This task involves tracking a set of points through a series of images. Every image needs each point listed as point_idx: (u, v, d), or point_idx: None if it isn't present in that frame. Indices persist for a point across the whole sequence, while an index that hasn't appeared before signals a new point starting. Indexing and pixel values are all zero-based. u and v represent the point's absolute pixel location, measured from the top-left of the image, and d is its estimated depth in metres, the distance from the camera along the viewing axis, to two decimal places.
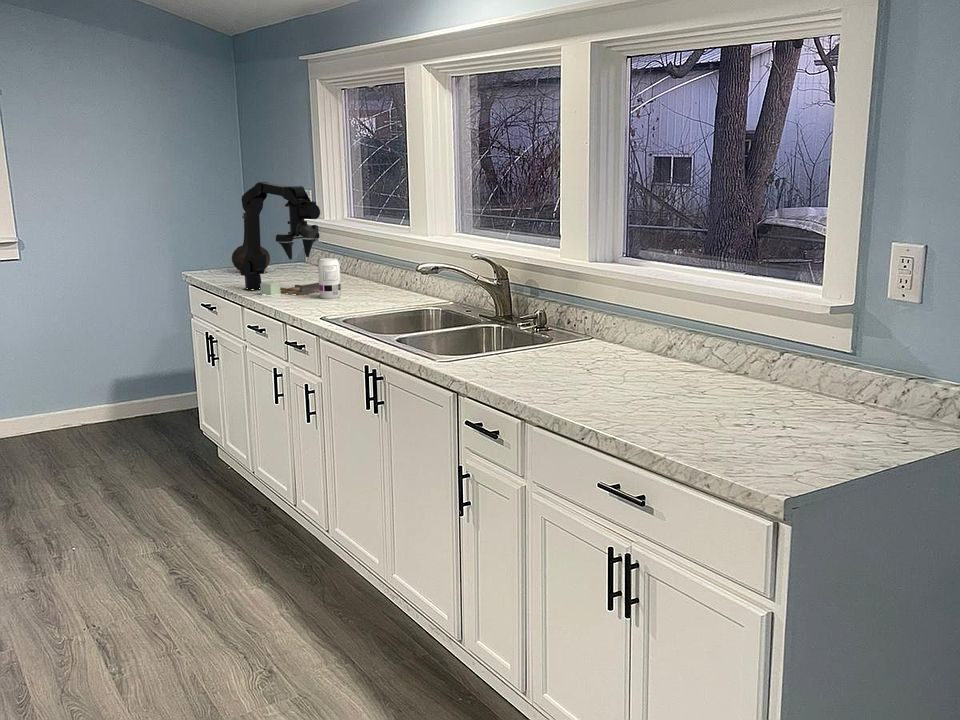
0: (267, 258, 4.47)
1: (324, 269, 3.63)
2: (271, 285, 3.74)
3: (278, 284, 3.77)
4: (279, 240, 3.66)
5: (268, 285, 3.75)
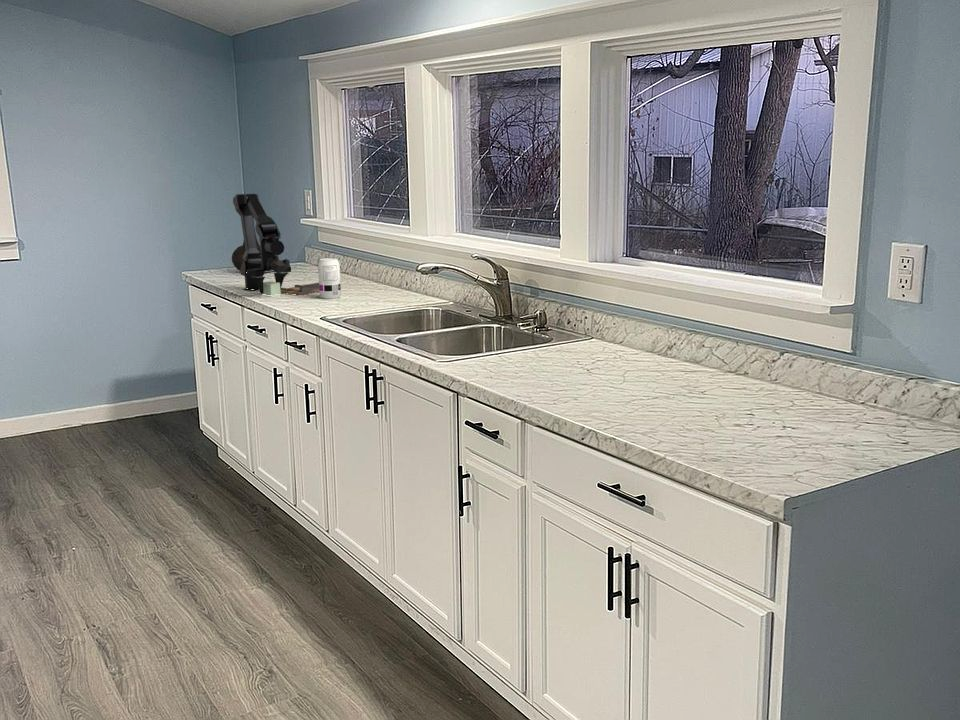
0: None
1: (324, 269, 3.63)
2: (271, 285, 3.74)
3: (278, 284, 3.77)
4: (250, 275, 3.70)
5: (268, 285, 3.75)
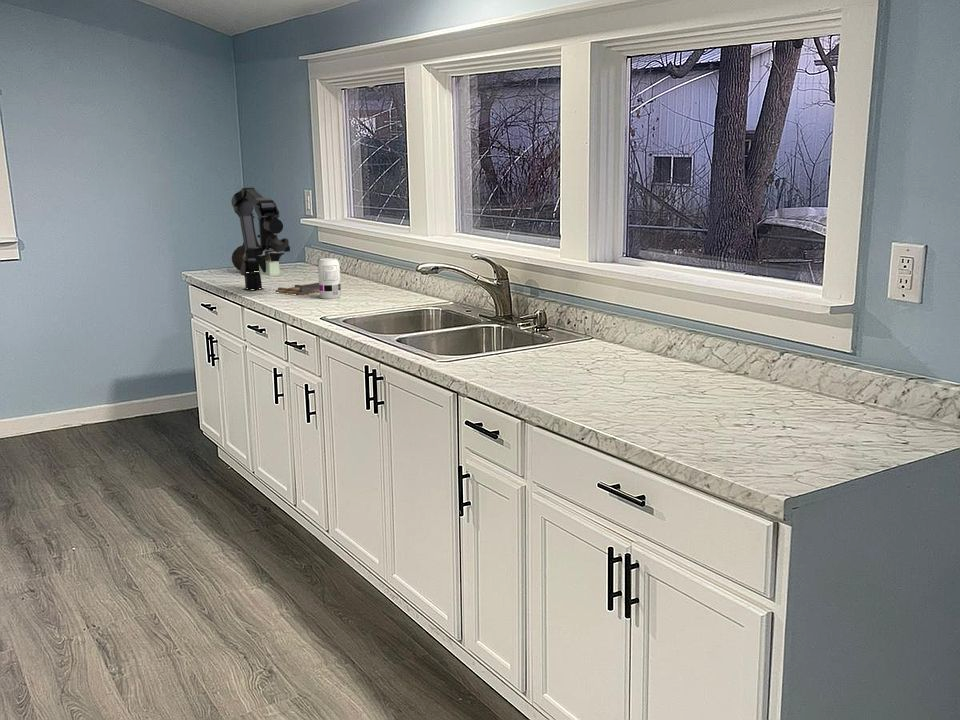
0: (267, 258, 4.47)
1: (324, 269, 3.63)
2: (270, 264, 3.72)
3: (277, 263, 3.75)
4: (249, 254, 3.68)
5: (267, 264, 3.73)
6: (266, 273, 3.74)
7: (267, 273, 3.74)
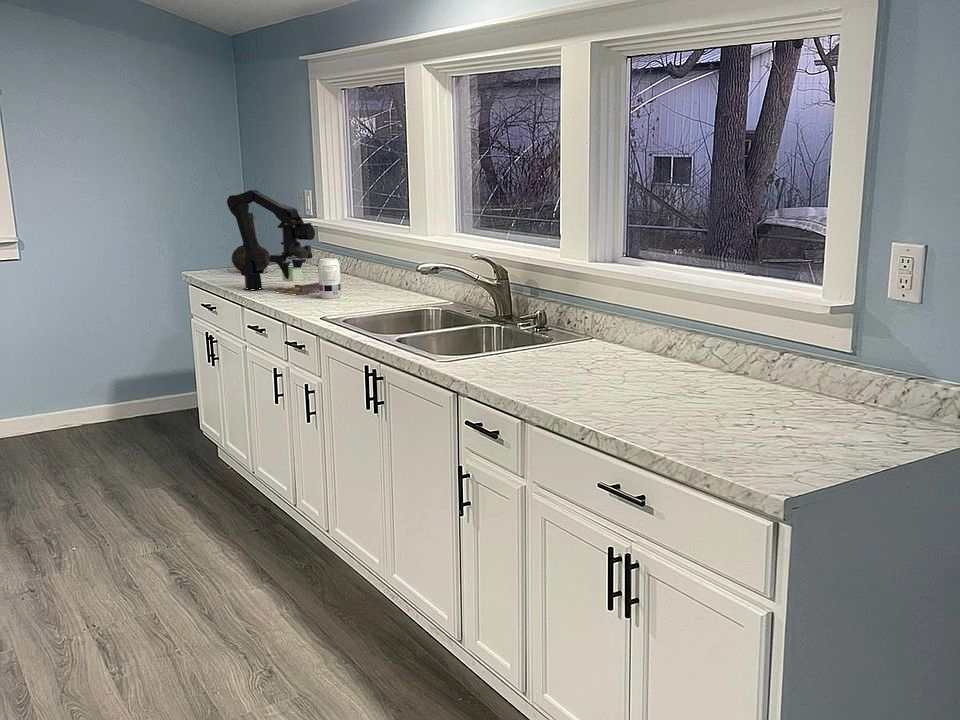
0: (267, 258, 4.47)
1: (324, 269, 3.63)
2: (293, 270, 3.81)
3: (300, 269, 3.84)
4: (272, 261, 3.77)
5: (290, 270, 3.82)
6: (289, 279, 3.83)
7: (290, 279, 3.83)
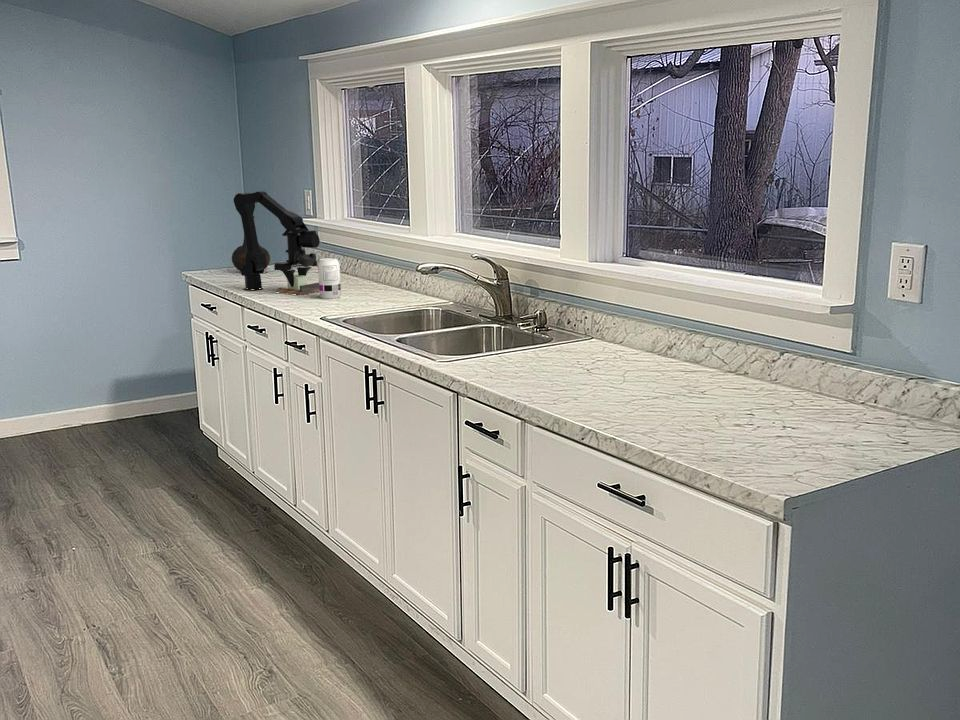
0: (267, 258, 4.47)
1: (324, 269, 3.63)
2: (298, 278, 3.81)
3: (305, 277, 3.84)
4: (278, 269, 3.76)
5: (295, 278, 3.81)
6: (294, 287, 3.82)
7: (295, 287, 3.82)
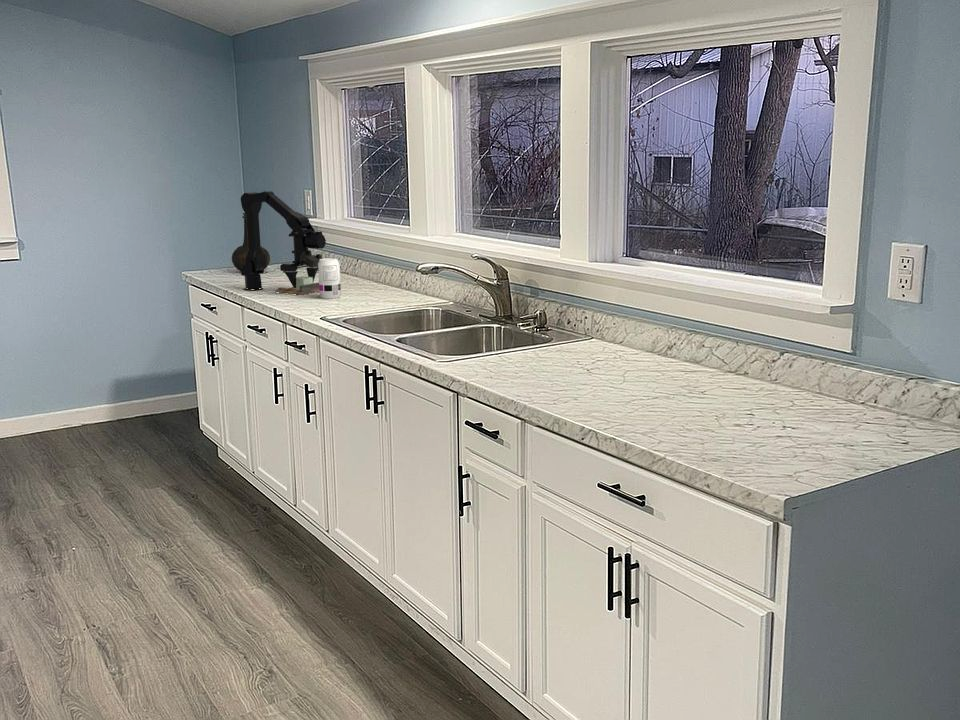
0: (267, 258, 4.47)
1: (324, 269, 3.63)
2: (304, 279, 3.79)
3: (311, 278, 3.82)
4: (284, 269, 3.74)
5: (301, 279, 3.79)
6: None
7: None
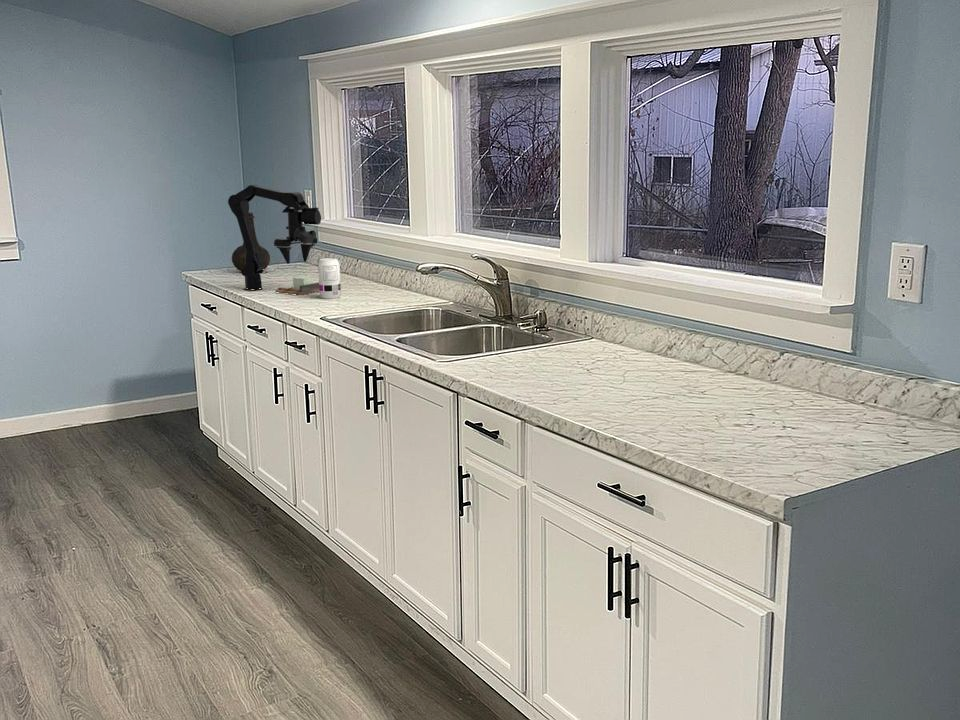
0: (267, 258, 4.47)
1: (324, 269, 3.63)
2: (304, 279, 3.79)
3: (311, 278, 3.82)
4: (277, 245, 3.78)
5: (301, 279, 3.79)
6: None
7: None
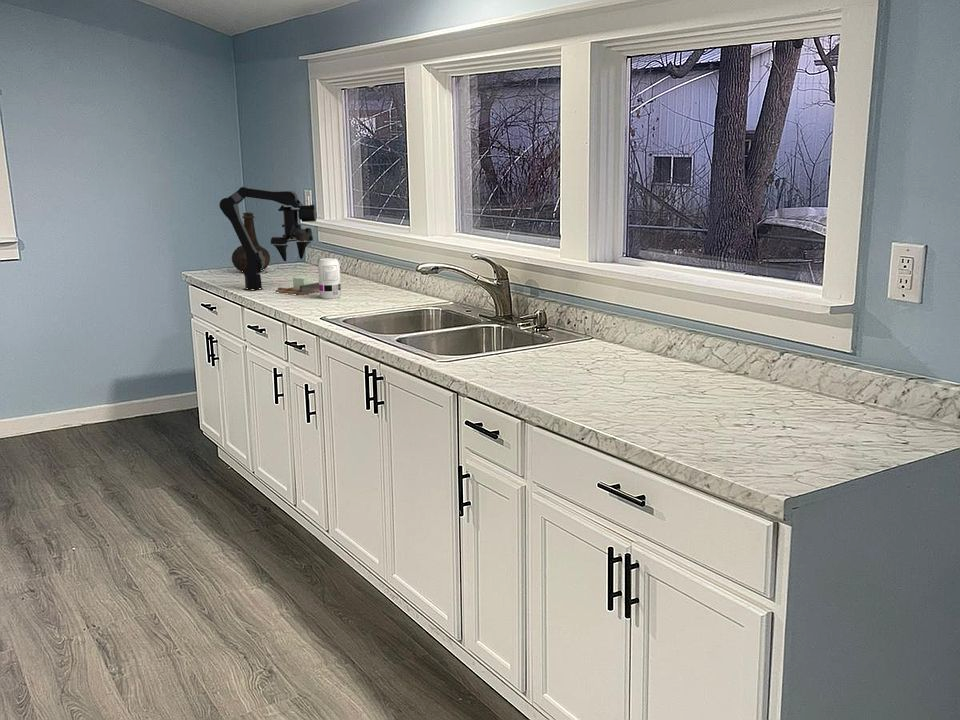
0: (267, 258, 4.47)
1: (324, 269, 3.63)
2: (304, 279, 3.79)
3: (311, 278, 3.82)
4: (274, 243, 3.83)
5: (301, 279, 3.79)
6: None
7: None
